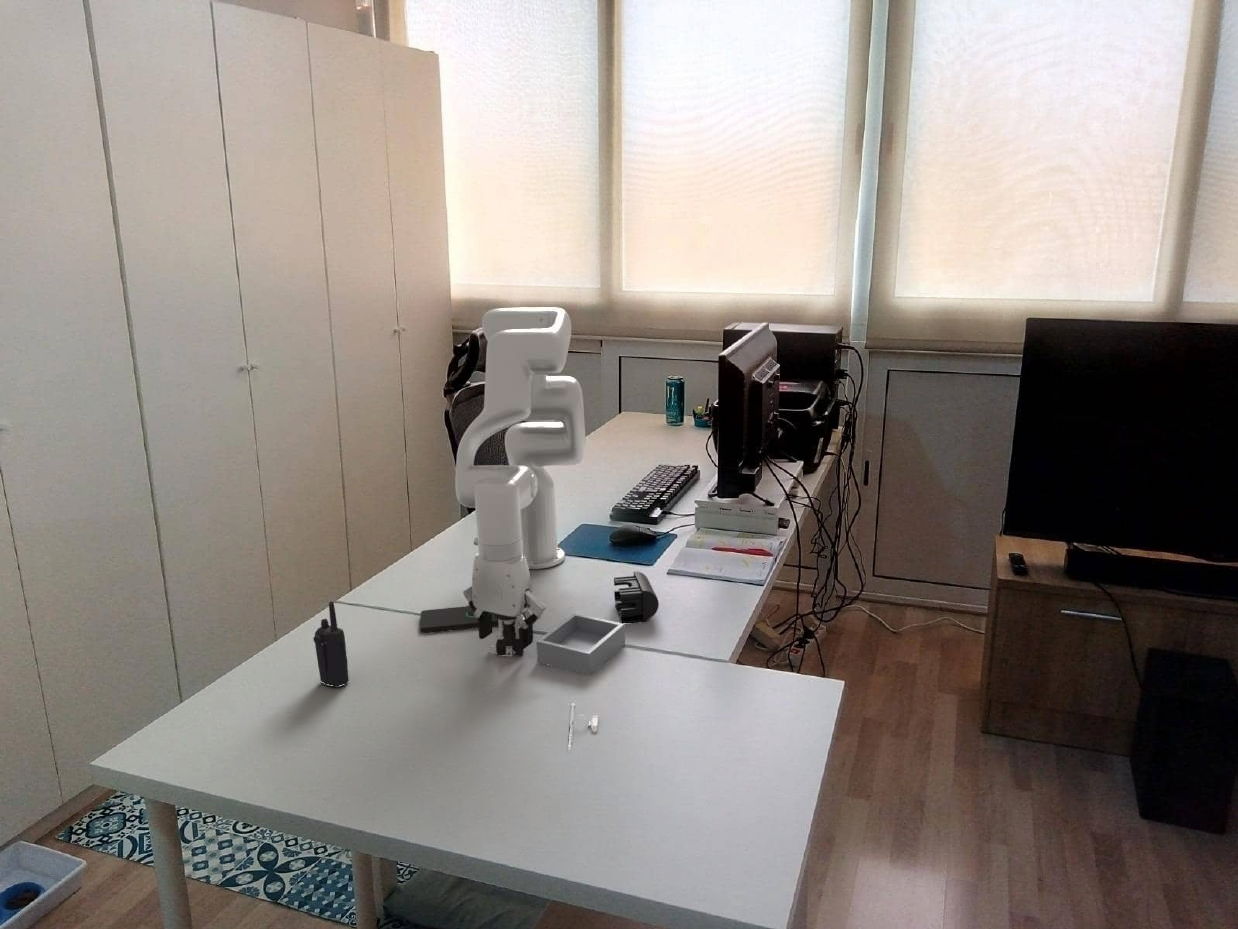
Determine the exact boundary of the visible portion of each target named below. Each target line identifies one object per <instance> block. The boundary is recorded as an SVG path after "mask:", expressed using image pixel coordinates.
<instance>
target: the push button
mask: <svg viewBox="0 0 1238 929" xmlns="http://www.w3.org/2000/svg"><path fill="white" fill-rule="evenodd" d="M494 616H495V618H497V619H498V622H499V626H498V634H499V635H497V639H496V643H495V644H493V645H492V644H491V645H487V646H486V647H487V649H488V650H487V653H494V654H496V656H498V655H506V656H505V657H510V658H511V657H513V656H512V655H515V656H517V657H523V656H524V651H525V649H520V645H519V628H520V624H519V621H518V620H517V618H516V617H508V616H503V615H499V614H494ZM513 620H515V624H514V621H513ZM502 621H504V622H502ZM489 648H490V649H489ZM491 648H493V649H491Z"/></svg>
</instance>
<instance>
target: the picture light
mask: <svg viewBox="0 0 1238 929" xmlns="http://www.w3.org/2000/svg"><path fill="white" fill-rule="evenodd" d="M571 703H572V702H571ZM574 703H575V702H574ZM574 703H572V704H570V706H571V705H575V706H576V703H575V704H574ZM572 707H574V706H572ZM578 716H579V717H578ZM580 716H583V717H580ZM575 717H576V718H575ZM598 717H599V715H592V718H591V720H589V718H588V716H587V715H584V714H582V713H581V714H577V715H574V717H573V718H574V720H573V718H572V720H573V721H575V720H578V719H583V720H585V721H586V722H587V725H588V724H589V725H588V726H590V725H591V726H590V729H591V731H593V732H592V733H598V719H599V718H598ZM572 720H571V721H570V720H569V722H570V726H572V722H573V721H572ZM570 729H572V727H570ZM570 732H572V731H571V730H570ZM569 736H571V734H570V735H569ZM569 739H571V737H569ZM570 743H571V740H569V745H568V744H567V745H568V747H571V745H570ZM569 749H571V748H569ZM571 750H572V749H571Z"/></svg>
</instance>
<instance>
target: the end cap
mask: <svg viewBox="0 0 1238 929" xmlns="http://www.w3.org/2000/svg"><path fill="white" fill-rule="evenodd" d="M613 586H628V587H622V588H618V590H614V594H613V595H614V596H613V597H614V601H615V603H614V606H615V609H617V610H616V611H617V614H618V616H619V620H620V623H632V624H639V623H638V622H642V623H645V622H647V621H649V620H650V619H651V618H653V617H654V616H655V615H656V613H657V612H658V610H659V606H660V603H659V598H658V596H657V595H656V593H655V591H654V588H653V587H652V584H651V583H650V581H649V579H648V577H647V576H646V575H645V574H644V573H643V572H642V571H641V572H640V571H635V570H634V571H633V575H629V576H628V575H627V576H617V577H613Z"/></svg>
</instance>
